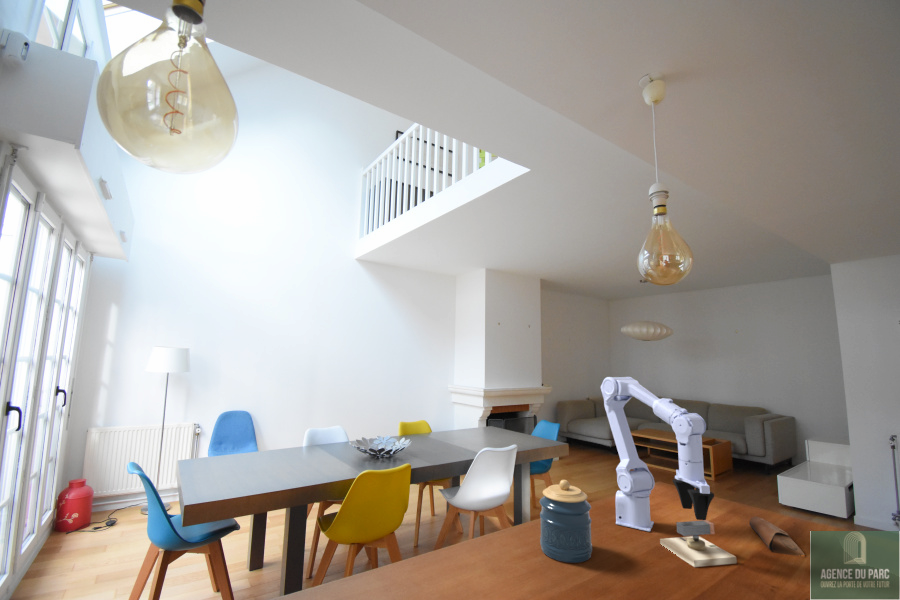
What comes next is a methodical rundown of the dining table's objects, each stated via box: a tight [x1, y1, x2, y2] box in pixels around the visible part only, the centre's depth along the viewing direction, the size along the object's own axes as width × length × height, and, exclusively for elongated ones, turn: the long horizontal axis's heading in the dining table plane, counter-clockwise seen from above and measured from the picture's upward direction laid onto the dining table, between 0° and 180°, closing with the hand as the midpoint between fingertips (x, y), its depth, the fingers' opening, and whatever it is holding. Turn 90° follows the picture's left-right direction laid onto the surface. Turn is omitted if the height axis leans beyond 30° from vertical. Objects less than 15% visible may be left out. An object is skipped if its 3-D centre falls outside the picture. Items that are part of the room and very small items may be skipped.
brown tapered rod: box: [749, 516, 806, 557], centre depth 115 cm, size 18×7×7 cm
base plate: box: [659, 535, 738, 568], centre depth 106 cm, size 12×12×3 cm
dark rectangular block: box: [676, 519, 716, 541], centre depth 107 cm, size 2×9×4 cm, turn 101°
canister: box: [539, 479, 593, 564], centre depth 107 cm, size 13×13×18 cm
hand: (693, 513), depth 108 cm, fingers open, 7 cm apart
